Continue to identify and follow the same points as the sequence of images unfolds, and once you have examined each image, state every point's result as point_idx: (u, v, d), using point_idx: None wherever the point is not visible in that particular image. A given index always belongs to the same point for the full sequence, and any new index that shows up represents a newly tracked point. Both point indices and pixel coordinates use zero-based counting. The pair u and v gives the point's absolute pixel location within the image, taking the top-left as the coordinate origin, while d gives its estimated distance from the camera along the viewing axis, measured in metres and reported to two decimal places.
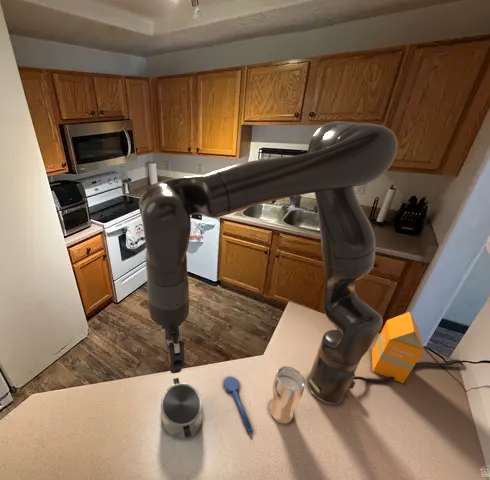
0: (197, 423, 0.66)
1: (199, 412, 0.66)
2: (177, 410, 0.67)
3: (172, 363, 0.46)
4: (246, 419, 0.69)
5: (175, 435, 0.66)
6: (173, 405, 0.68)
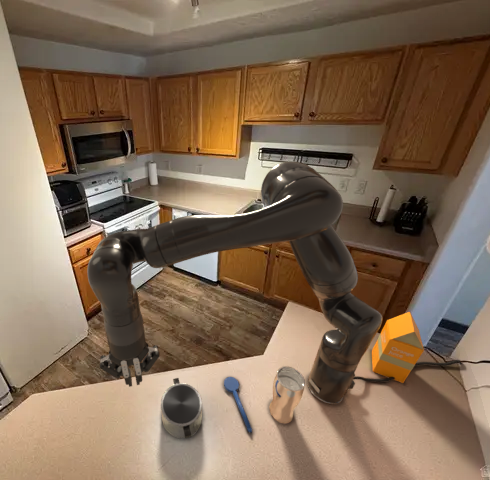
0: (197, 423, 0.66)
1: (199, 412, 0.66)
2: (177, 410, 0.67)
3: None
4: (246, 419, 0.69)
5: (175, 435, 0.66)
6: (173, 405, 0.68)
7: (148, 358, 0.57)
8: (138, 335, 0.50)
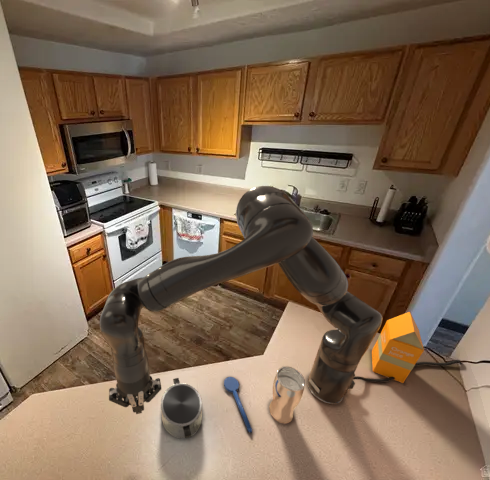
0: (197, 423, 0.66)
1: (199, 412, 0.66)
2: (177, 410, 0.67)
3: None
4: (246, 419, 0.69)
5: (175, 435, 0.66)
6: (173, 405, 0.68)
7: (150, 390, 0.63)
8: (143, 373, 0.55)
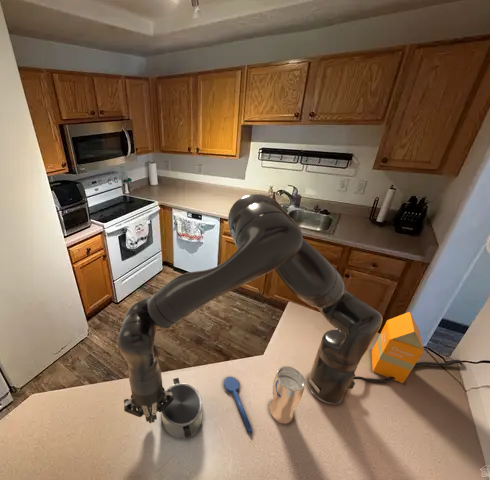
0: (197, 423, 0.66)
1: (199, 412, 0.66)
2: (177, 410, 0.67)
3: None
4: (246, 419, 0.69)
5: (175, 435, 0.66)
6: (173, 405, 0.68)
7: (163, 400, 0.66)
8: (158, 386, 0.58)
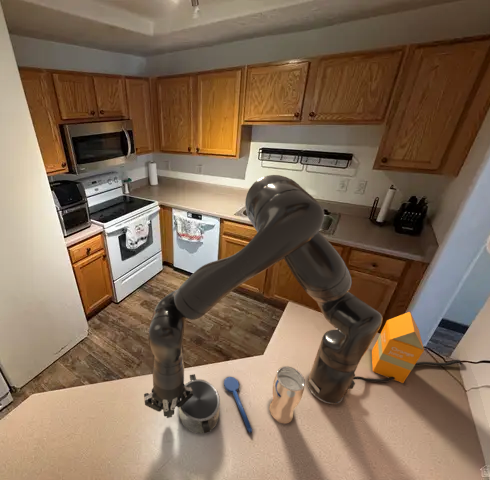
0: (215, 418, 0.67)
1: (217, 408, 0.67)
2: (195, 405, 0.68)
3: None
4: (246, 419, 0.69)
5: (193, 430, 0.67)
6: (191, 400, 0.69)
7: (182, 395, 0.67)
8: (181, 380, 0.59)
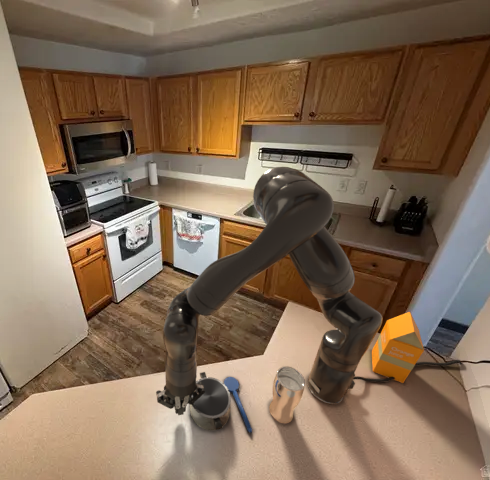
0: (226, 416, 0.68)
1: (228, 405, 0.68)
2: (207, 403, 0.68)
3: None
4: (246, 419, 0.69)
5: (205, 427, 0.68)
6: (202, 397, 0.69)
7: (193, 393, 0.67)
8: (194, 377, 0.60)
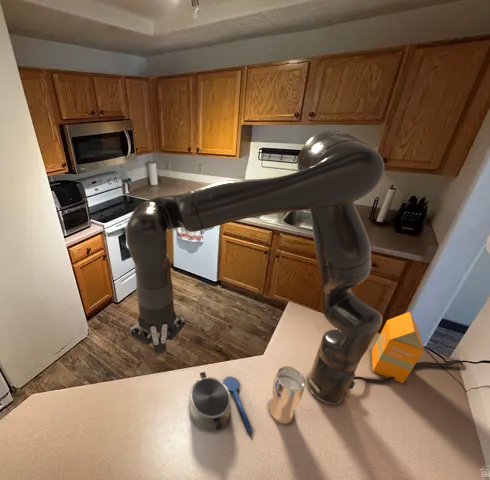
0: (226, 416, 0.68)
1: (228, 405, 0.68)
2: (207, 403, 0.68)
3: None
4: (246, 419, 0.69)
5: (205, 427, 0.68)
6: (202, 397, 0.69)
7: (173, 326, 0.60)
8: (169, 299, 0.52)
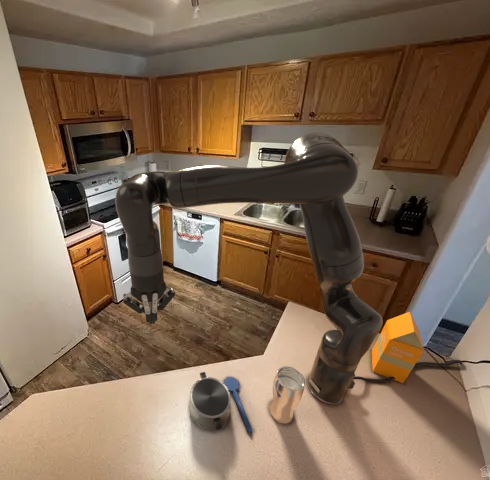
0: (226, 416, 0.68)
1: (228, 405, 0.68)
2: (207, 403, 0.68)
3: None
4: (246, 419, 0.69)
5: (205, 427, 0.68)
6: (202, 397, 0.69)
7: (164, 297, 0.63)
8: (159, 268, 0.56)
